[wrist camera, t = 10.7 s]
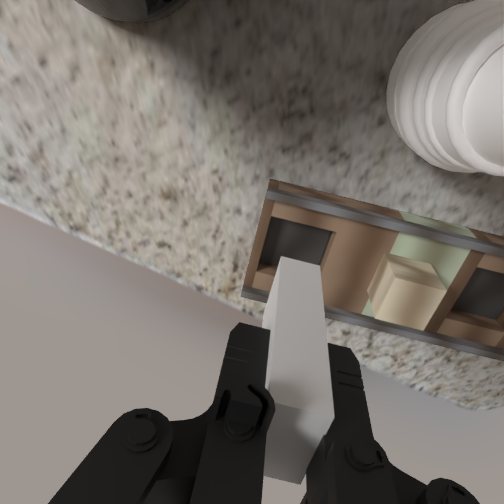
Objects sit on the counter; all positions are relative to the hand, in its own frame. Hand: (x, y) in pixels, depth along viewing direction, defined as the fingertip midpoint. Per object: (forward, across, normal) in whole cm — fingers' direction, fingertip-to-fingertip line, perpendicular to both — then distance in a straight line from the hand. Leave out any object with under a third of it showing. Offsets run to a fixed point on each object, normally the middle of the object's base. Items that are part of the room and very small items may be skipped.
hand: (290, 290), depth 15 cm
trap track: (+26, +14, -11) cm, 32 cm away
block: (+24, +14, -11) cm, 30 cm away
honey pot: (+27, +13, +8) cm, 31 cm away
